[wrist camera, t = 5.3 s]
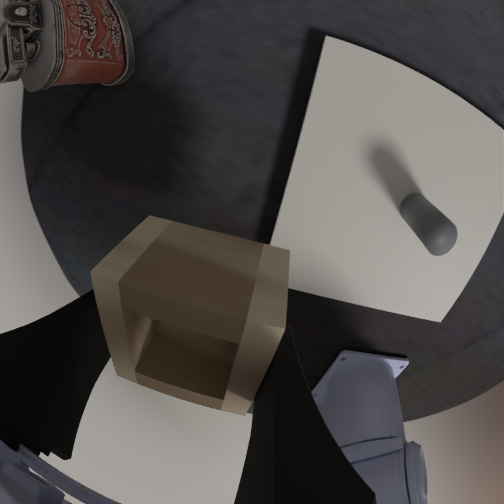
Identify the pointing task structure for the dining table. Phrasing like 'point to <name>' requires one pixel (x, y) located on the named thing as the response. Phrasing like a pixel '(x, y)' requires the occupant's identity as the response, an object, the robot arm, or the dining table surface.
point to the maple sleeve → (193, 311)
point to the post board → (388, 187)
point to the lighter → (64, 43)
